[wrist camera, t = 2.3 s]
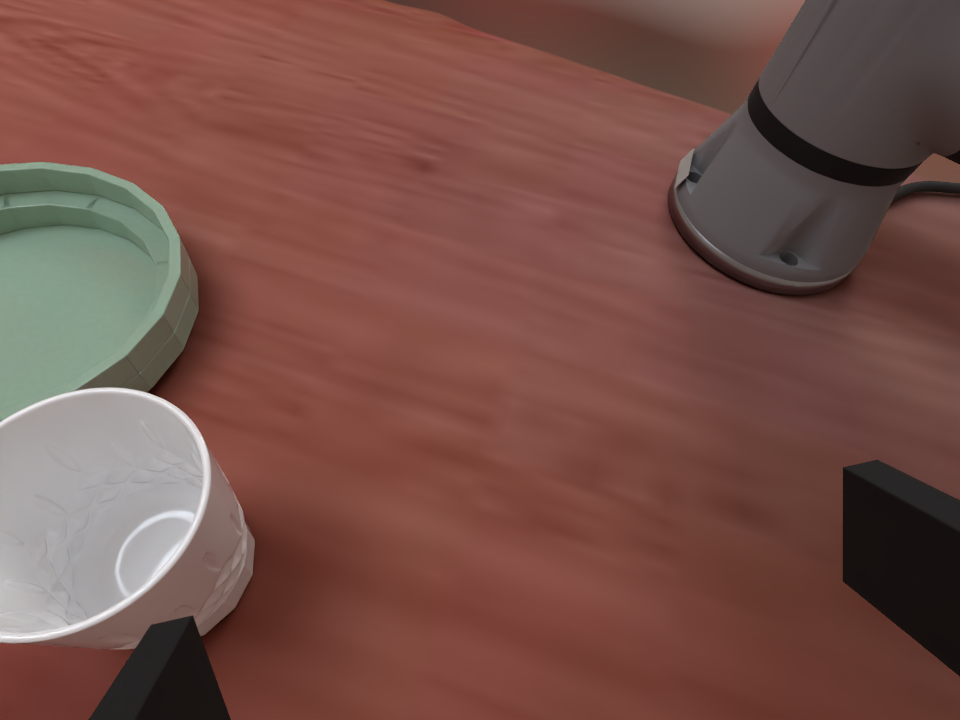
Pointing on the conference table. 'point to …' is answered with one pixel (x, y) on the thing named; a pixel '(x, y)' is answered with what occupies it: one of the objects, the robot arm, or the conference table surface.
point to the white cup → (113, 522)
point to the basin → (86, 284)
